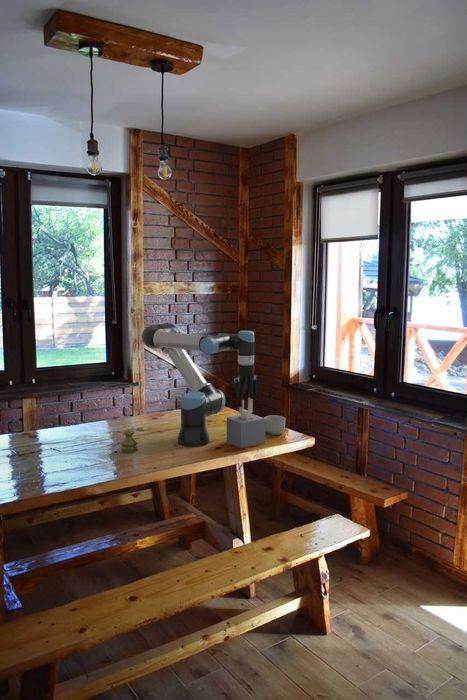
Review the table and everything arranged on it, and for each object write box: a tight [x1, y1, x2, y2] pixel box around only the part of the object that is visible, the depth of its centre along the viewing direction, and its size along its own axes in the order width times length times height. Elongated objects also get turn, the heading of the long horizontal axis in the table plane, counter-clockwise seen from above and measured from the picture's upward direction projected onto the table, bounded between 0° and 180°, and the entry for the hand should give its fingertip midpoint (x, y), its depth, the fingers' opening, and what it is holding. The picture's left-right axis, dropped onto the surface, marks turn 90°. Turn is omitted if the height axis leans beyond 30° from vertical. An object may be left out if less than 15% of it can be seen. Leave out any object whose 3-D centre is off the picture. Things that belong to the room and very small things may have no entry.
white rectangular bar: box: [240, 409, 253, 420], centre depth 275 cm, size 2×5×10 cm, turn 34°
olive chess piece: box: [120, 428, 138, 454], centre depth 263 cm, size 7×7×10 cm
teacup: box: [264, 414, 286, 436], centre depth 292 cm, size 14×11×8 cm
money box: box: [226, 413, 266, 449], centre depth 276 cm, size 14×12×12 cm
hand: (245, 412), depth 274 cm, fingers open, 4 cm apart
